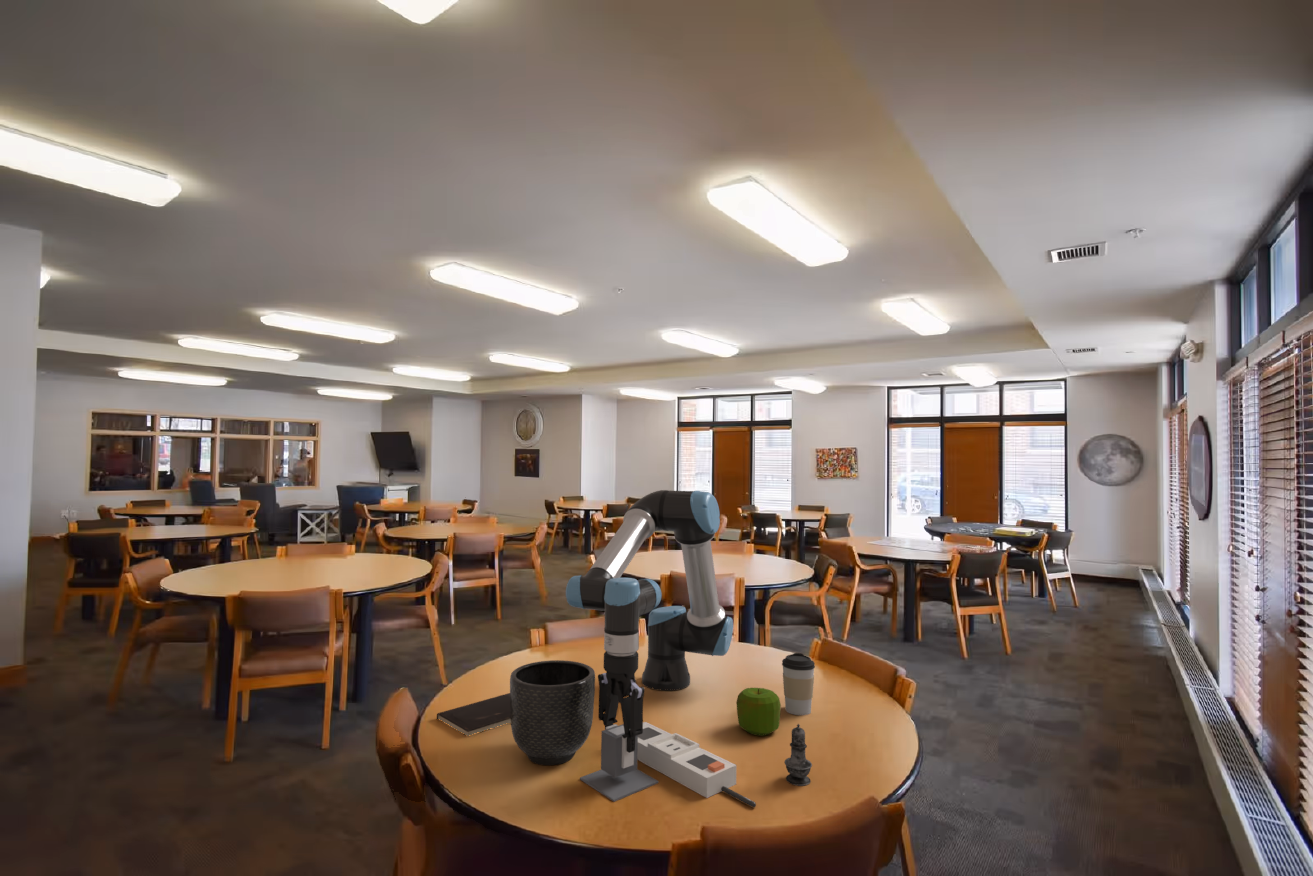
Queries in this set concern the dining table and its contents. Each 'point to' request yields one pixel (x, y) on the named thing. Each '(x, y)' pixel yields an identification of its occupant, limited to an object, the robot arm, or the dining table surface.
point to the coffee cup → (798, 683)
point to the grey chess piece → (798, 759)
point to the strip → (687, 763)
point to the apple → (758, 711)
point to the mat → (618, 783)
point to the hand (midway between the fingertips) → (619, 761)
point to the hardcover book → (479, 715)
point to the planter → (551, 709)
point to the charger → (615, 752)
